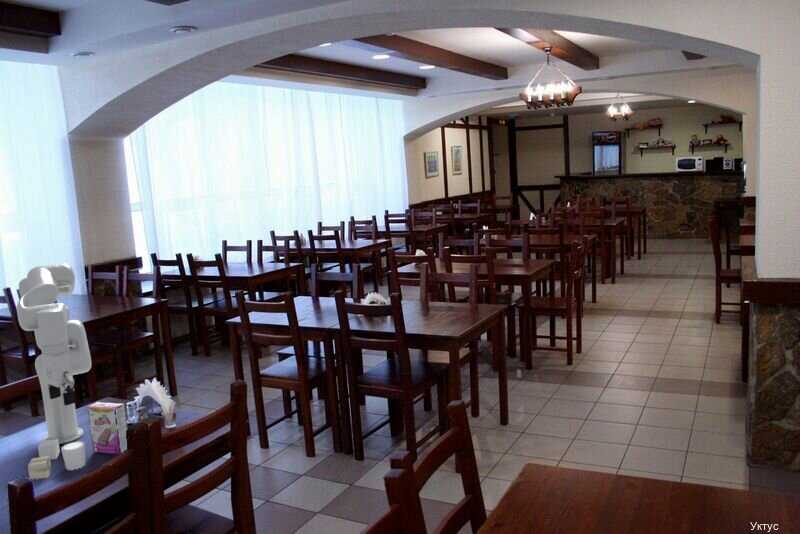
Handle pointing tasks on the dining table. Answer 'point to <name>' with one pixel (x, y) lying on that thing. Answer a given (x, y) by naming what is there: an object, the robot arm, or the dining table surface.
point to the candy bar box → (108, 427)
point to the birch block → (39, 467)
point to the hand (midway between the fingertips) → (62, 400)
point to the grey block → (49, 448)
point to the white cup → (74, 455)
